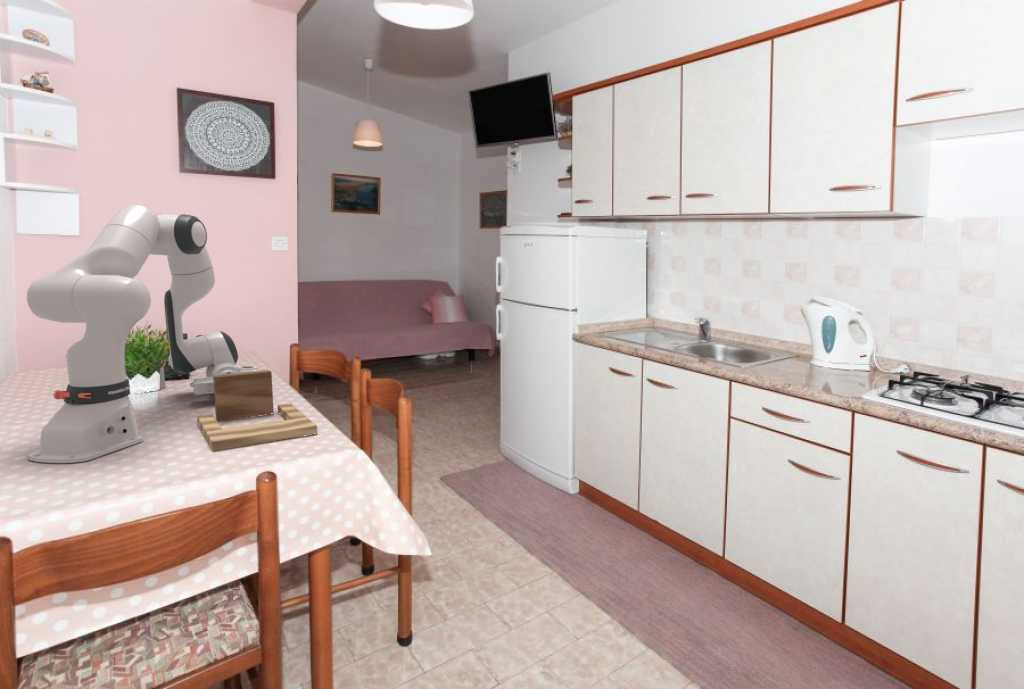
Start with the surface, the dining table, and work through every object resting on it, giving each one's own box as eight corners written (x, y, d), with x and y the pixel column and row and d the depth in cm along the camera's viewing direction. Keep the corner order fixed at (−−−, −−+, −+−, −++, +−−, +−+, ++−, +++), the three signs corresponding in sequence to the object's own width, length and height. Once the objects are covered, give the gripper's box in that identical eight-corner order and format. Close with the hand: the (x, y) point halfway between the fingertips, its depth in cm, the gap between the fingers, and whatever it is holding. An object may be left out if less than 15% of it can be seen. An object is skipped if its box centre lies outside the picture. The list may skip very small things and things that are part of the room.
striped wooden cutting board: (197, 423, 158) (196, 415, 157) (290, 410, 171) (290, 403, 170) (212, 451, 137) (212, 441, 137) (317, 434, 150) (317, 425, 150)
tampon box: (161, 375, 214) (157, 334, 212) (190, 373, 218) (187, 332, 215) (157, 381, 204) (154, 338, 202) (188, 379, 208) (185, 337, 206)
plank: (215, 418, 162) (212, 374, 160) (270, 411, 170) (268, 369, 168) (218, 422, 160) (214, 377, 158) (273, 414, 167) (271, 371, 165)
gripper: (187, 372, 178) (194, 381, 167) (261, 366, 189) (272, 373, 178) (189, 393, 179) (195, 404, 168) (262, 385, 190) (273, 394, 179)
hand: (235, 388), depth 173 cm, fingers closed
